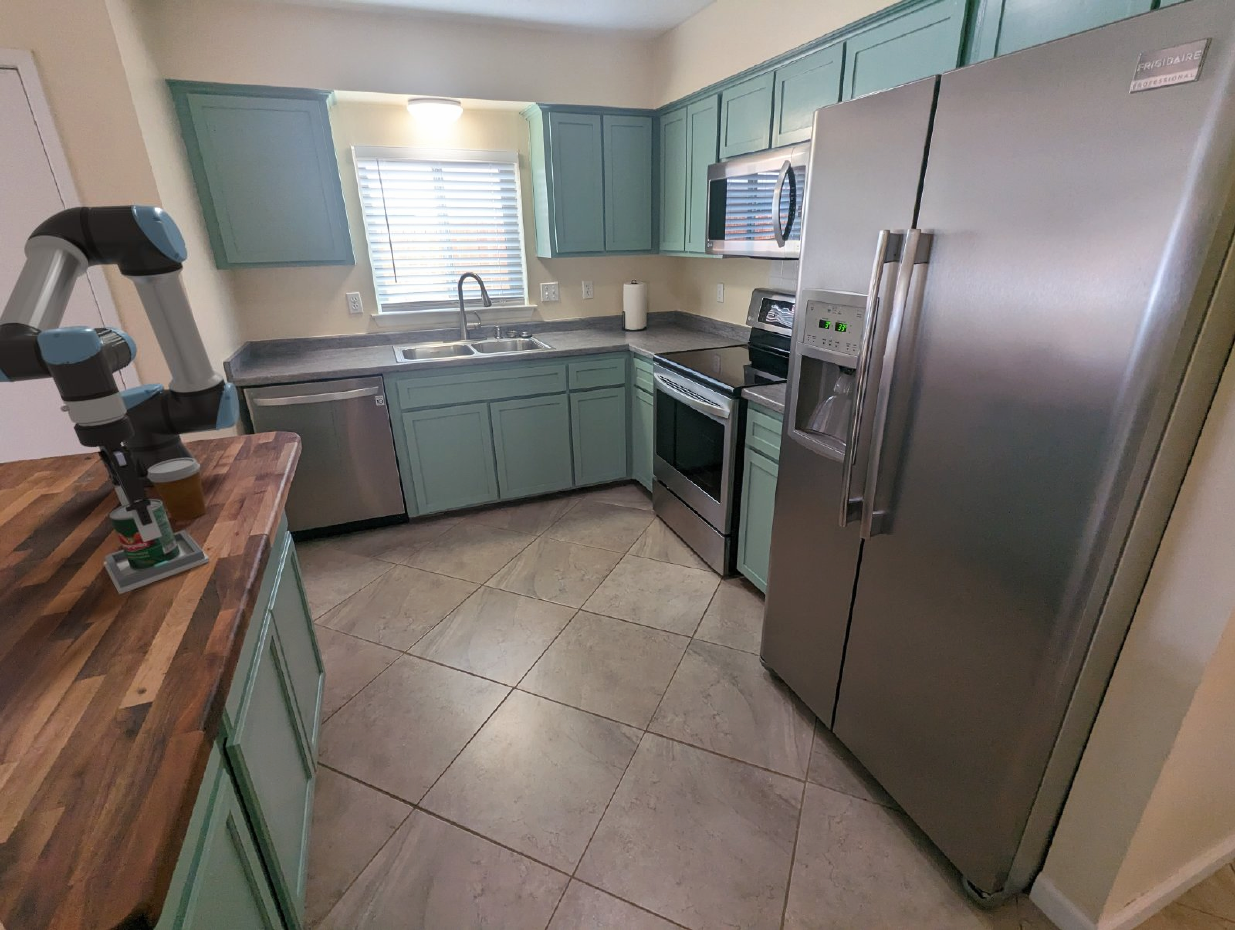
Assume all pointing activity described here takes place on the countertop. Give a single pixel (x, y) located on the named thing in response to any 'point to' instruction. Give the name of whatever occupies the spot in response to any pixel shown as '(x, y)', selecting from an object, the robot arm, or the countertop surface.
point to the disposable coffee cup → (179, 487)
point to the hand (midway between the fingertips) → (143, 526)
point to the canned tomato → (133, 545)
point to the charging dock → (133, 579)
